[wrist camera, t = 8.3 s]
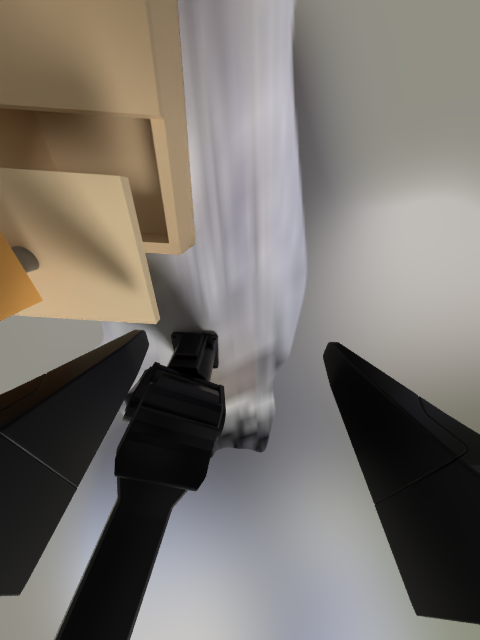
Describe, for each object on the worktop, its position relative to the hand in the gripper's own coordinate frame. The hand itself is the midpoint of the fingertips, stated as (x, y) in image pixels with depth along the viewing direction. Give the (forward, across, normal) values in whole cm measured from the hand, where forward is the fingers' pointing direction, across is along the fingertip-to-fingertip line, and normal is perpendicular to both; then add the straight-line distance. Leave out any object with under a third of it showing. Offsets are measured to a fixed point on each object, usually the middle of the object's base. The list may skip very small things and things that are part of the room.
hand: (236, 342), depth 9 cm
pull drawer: (+3, +11, -3) cm, 12 cm away
